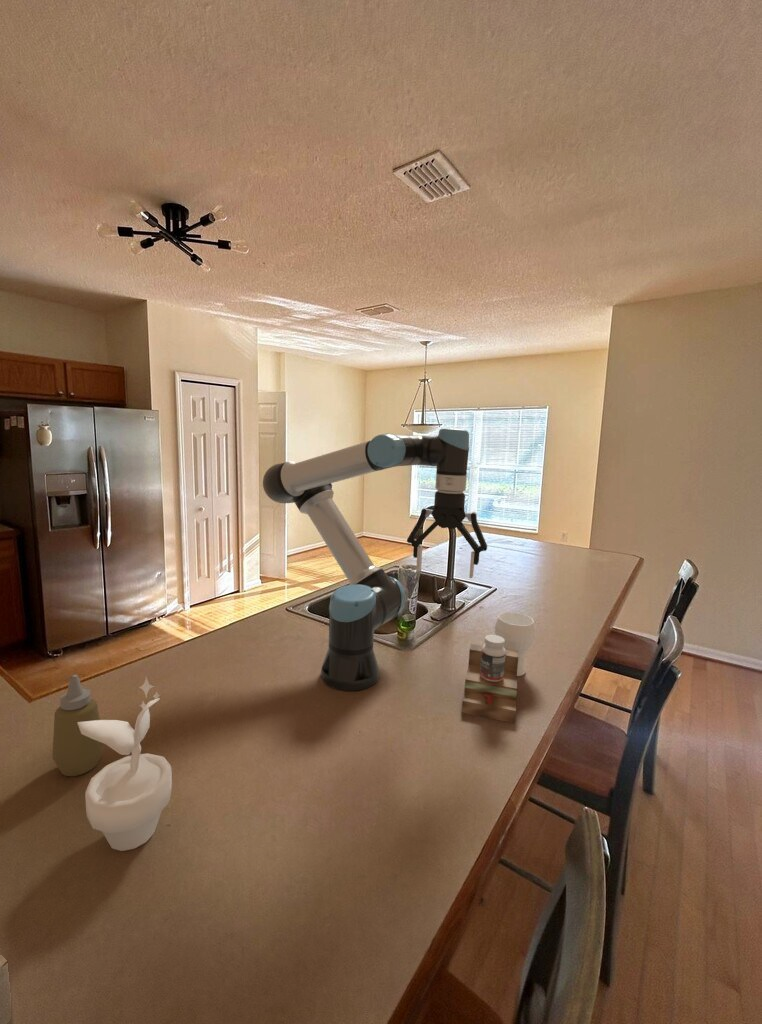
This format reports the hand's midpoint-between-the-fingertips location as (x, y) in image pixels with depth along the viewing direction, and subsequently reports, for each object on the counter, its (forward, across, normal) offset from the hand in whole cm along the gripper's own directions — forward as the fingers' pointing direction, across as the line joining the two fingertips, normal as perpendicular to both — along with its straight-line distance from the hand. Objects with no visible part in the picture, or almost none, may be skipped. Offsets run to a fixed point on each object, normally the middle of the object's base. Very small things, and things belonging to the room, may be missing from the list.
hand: (444, 573), depth 119 cm
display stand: (+29, +14, -6) cm, 32 cm away
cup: (+29, +19, +11) cm, 36 cm away
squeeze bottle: (+29, -58, -56) cm, 86 cm away
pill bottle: (+23, +14, -6) cm, 28 cm away
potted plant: (+29, -38, -65) cm, 81 cm away
